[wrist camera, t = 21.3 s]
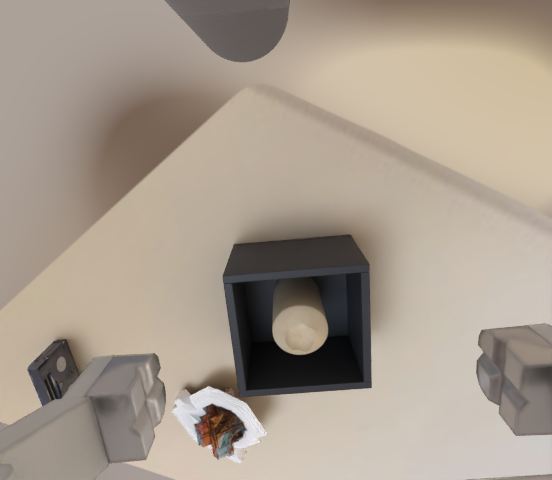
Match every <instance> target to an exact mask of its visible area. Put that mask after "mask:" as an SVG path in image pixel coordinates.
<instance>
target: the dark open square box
mask: <svg viewBox="0 0 552 480" xmlns="http://www.w3.org/2000/svg"><path fill="white" fill-rule="evenodd" d="M299 277H311V278H312V279H313V280H314V281H315V283H316V284H317V286H318V288H319V292H320V296H321V300H322V304H323V308H324V312H325V316H326V320H327V324H328V335H327V338H326V340H325V342H324V344H323V345H322V346H321V347H320V348H319V349H317V350H316V351H314V352H312V353H309V354H304V355H296V354H291V353H288V352H286V351H284V350H283V349H281V348H280V347H279V346H278V345H277V343H276V342H275V340H274V337H273V332H272V325H273V292H274V288H275V286H276V284H277V282H278V281H279V280H280V279H287V278H299ZM223 283H224V290H225V297H226V304H227V311H228V318H229V325H230V332H231V339H232V347H233V354H234V361H235V368H236V375H237V382H238V389H239V396H240V397H252V396H266V395H280V394H294V393H307V392H321V391H335V390H349V389H363V388H371V387H372V382H371V381H372V380H371V326H370V272H369V263H368V262H367V260H366V258H365V257H364V255H363V254H362V252H361V251H360V249H359V247H358V246H357V244H356V243H355V241H354V240H353V238H352V237H351V235H340V236H328V237H316V238H305V239H293V240H281V241H269V242H257V243H245V244H234V246H233V249H232V251H231V254H230V257H229V260H228V263H227V265H226V268H225V271H224V274H223Z"/></svg>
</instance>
